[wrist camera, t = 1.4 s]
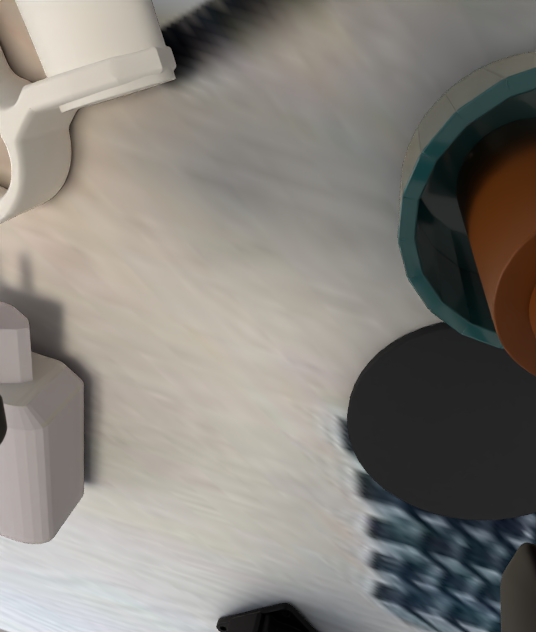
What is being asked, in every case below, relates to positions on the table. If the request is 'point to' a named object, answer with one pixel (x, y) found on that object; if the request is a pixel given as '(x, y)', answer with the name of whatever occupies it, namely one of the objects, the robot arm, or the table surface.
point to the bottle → (505, 231)
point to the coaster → (448, 425)
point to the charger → (37, 436)
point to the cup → (441, 195)
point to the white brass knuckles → (72, 84)
